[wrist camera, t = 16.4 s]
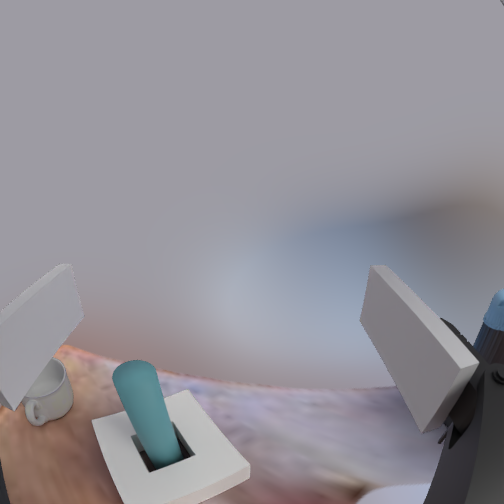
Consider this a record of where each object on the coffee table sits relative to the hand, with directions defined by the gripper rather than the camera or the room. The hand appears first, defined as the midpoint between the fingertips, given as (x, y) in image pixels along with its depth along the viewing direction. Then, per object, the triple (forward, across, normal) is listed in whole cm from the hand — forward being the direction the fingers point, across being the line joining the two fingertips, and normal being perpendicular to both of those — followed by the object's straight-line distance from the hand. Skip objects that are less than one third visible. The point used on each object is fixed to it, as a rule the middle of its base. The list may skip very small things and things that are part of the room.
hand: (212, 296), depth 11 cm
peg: (+8, -10, -32) cm, 34 cm away
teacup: (+12, -32, -32) cm, 47 cm away
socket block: (+8, -10, -32) cm, 34 cm away
